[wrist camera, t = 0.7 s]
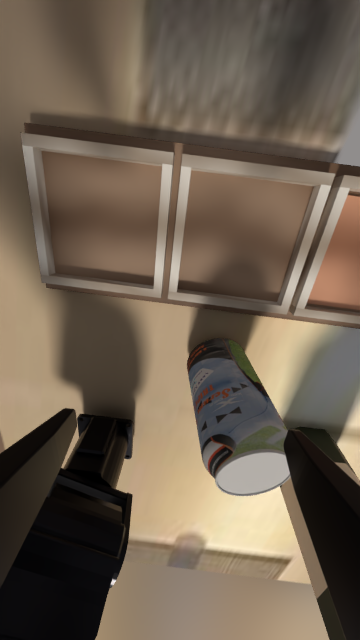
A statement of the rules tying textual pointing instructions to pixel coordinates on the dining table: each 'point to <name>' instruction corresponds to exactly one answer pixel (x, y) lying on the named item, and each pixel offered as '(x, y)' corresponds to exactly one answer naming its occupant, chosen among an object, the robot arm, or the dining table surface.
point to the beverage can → (236, 420)
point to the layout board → (195, 225)
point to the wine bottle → (303, 537)
